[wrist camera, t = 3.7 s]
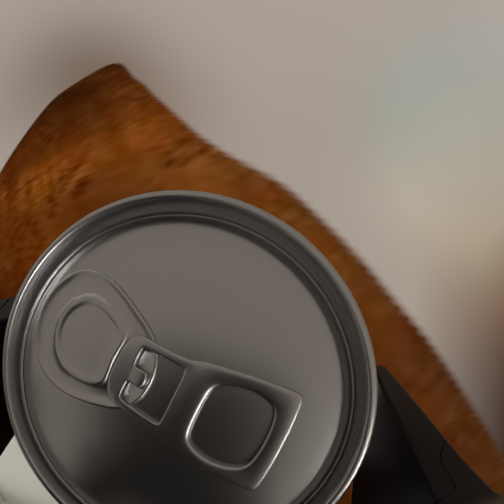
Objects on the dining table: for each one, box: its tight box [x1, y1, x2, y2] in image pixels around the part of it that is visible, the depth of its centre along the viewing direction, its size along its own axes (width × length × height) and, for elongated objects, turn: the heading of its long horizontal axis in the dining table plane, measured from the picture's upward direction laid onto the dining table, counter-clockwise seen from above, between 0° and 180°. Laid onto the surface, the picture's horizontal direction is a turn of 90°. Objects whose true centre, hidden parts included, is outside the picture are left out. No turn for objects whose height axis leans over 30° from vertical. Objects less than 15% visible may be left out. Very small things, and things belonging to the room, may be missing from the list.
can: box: [2, 190, 378, 504], centre depth 8 cm, size 6×6×12 cm
